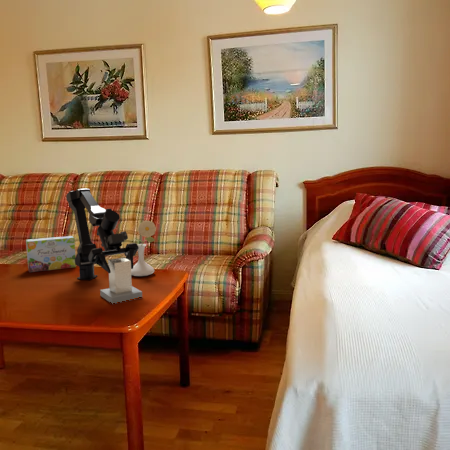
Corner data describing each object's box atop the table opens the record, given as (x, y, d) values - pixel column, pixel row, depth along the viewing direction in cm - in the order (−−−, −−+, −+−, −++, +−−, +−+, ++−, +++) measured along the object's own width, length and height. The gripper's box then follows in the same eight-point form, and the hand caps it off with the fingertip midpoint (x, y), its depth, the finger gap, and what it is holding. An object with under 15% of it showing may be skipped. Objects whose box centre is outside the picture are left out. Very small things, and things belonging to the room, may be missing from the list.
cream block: (109, 290, 170) (108, 259, 168) (125, 287, 174) (124, 257, 172) (115, 294, 165) (114, 263, 163) (131, 291, 169) (130, 260, 167)
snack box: (29, 273, 206) (26, 241, 204) (28, 270, 211) (25, 239, 209) (76, 267, 216) (74, 236, 213) (74, 264, 221) (72, 235, 218)
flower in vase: (126, 278, 195) (123, 222, 191) (132, 271, 206) (130, 218, 203) (155, 278, 195) (153, 222, 191) (160, 271, 206) (158, 218, 202)
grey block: (100, 297, 171) (100, 289, 171) (129, 291, 178) (129, 284, 178) (112, 305, 162) (111, 298, 161) (142, 299, 169) (142, 291, 168)
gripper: (89, 227, 163) (103, 262, 156) (135, 222, 174) (150, 254, 168) (82, 245, 170) (95, 279, 164) (127, 239, 182) (141, 270, 175)
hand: (121, 270), depth 167 cm, fingers open, 9 cm apart
